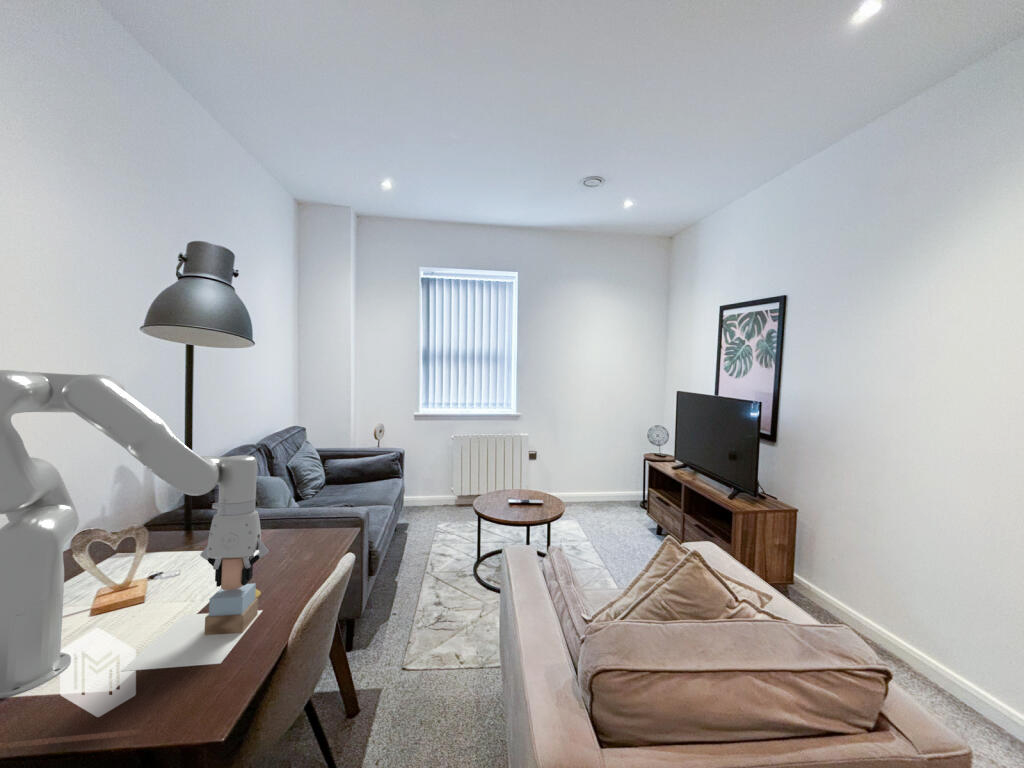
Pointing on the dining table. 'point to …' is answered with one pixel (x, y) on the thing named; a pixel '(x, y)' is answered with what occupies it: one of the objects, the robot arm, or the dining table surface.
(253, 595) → the tower top
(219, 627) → the tower base
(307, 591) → the dining table surface
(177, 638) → the mat
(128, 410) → the robot arm
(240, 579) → the cylinder
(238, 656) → the dining table surface
